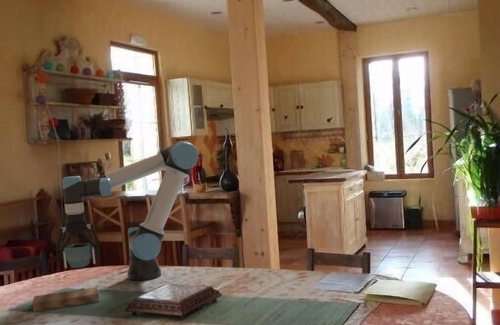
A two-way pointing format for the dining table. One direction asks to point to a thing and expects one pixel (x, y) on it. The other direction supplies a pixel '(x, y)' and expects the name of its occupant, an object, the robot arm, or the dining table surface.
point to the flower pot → (78, 255)
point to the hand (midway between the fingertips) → (80, 265)
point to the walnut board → (65, 299)
